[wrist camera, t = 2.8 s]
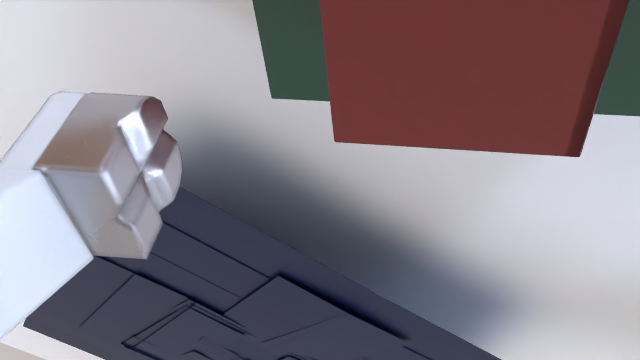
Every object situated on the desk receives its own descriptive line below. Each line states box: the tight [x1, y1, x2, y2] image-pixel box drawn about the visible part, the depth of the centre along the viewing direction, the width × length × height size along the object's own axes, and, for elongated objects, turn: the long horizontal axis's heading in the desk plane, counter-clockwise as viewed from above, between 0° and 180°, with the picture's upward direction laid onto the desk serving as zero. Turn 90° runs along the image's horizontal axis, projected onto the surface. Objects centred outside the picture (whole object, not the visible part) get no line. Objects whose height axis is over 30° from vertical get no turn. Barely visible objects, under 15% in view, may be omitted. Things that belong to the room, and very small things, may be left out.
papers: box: [23, 187, 501, 360], centre depth 38 cm, size 24×30×4 cm
